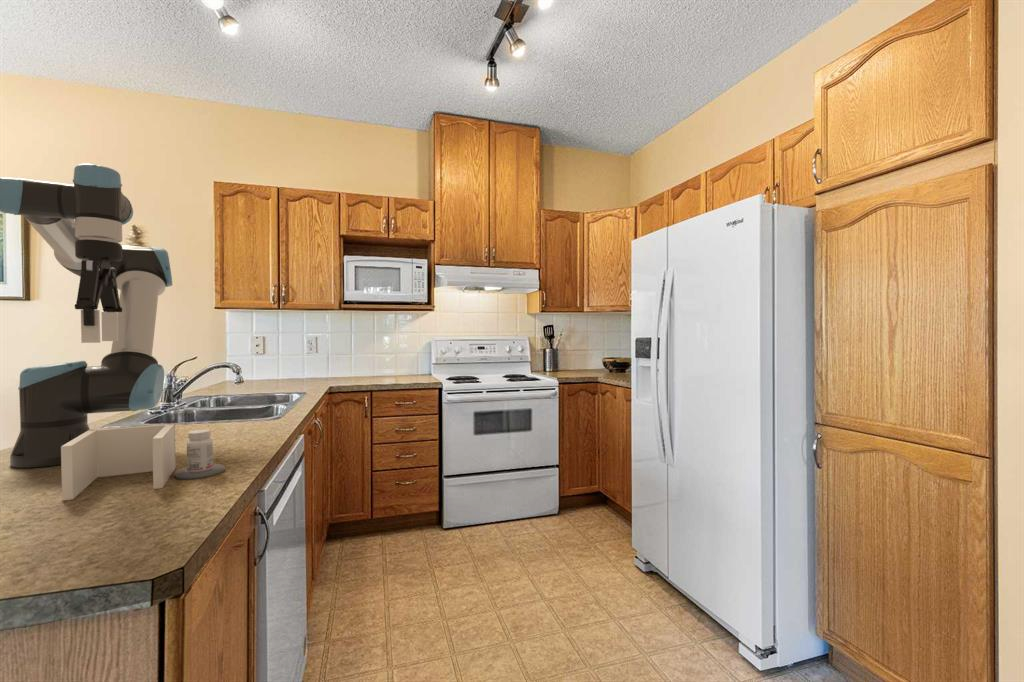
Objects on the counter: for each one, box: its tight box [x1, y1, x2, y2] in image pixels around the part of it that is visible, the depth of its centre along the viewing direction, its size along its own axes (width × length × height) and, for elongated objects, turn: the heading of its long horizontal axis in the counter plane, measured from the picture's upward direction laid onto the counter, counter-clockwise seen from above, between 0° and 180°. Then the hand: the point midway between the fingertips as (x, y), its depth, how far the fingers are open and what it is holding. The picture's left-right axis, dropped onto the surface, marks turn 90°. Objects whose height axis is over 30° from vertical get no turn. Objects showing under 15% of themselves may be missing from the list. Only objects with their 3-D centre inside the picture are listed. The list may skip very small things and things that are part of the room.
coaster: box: [174, 463, 225, 481], centre depth 103 cm, size 9×9×1 cm
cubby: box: [60, 423, 177, 502], centre depth 97 cm, size 16×15×10 cm
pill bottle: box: [186, 428, 214, 472], centre depth 103 cm, size 5×5×8 cm
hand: (101, 342), depth 100 cm, fingers open, 13 cm apart
